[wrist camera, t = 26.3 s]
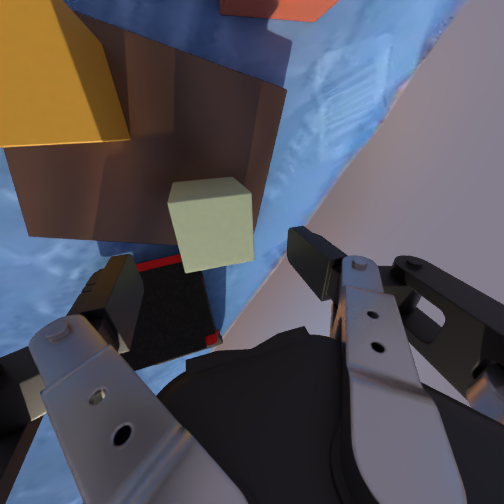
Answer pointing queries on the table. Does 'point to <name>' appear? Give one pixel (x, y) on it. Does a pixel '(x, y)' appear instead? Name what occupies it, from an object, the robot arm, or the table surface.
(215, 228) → the middle block
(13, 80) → the top block
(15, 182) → the board
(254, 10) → the base block
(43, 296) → the table surface
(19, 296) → the table surface
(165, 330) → the handheld gaming console
